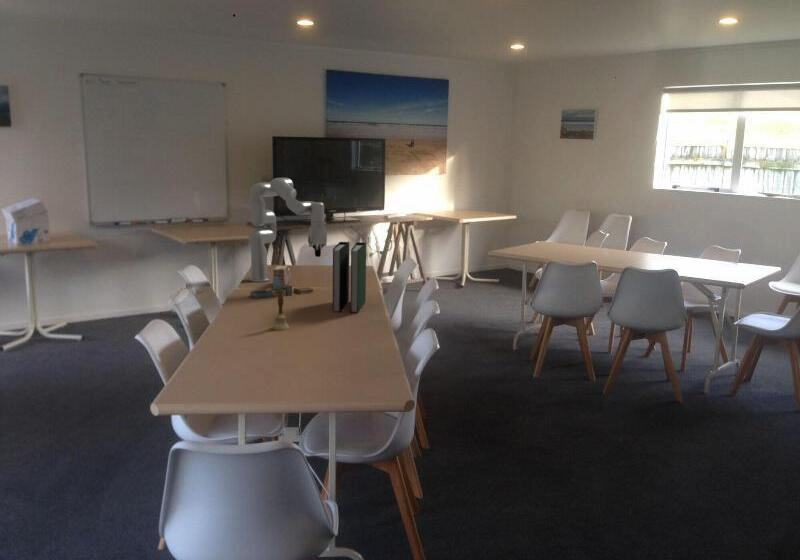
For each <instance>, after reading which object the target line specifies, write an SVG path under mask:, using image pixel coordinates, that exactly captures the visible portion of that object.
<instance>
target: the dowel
mask: <svg viewBox="0 0 800 560" xmlns="http://www.w3.org/2000/svg"><path fill="white" fill-rule="evenodd" d="M272 288H273V290H274V291H277V290H279V277H274V276H273V278H272Z"/></svg>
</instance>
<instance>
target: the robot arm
mask: <svg viewBox="0 0 800 560" xmlns="http://www.w3.org/2000/svg"><path fill="white" fill-rule="evenodd" d="M278 196H279V197H280V198H282V199H283V200H284V201H285V205H286V206H287V208H288V209H289V211H291V212H293V213H294V214H296V215H298V216H307V215H309V216H310V226H309V228H308V234H307V243H308V247H310V248H313V250H314V257H316V258H319V257H321V255H322V252H321V251H322V249H323V247H326V246H327V243H328V237H327V230H326V226H325V225H327V221H325V204H324V202H320V201H318V202H317V201H312V200H311V201H310V200H309V201H308V200H307V201H300V200H298V199H296V197H297V189H295V188H294V182H293V180H292V179H291V178H289V177H276V178H273V179H271V181H269V182H264V181H263V182H257V183H254V184H253V185H252V186H251V187H250V190H249V198H250V220H251V224H252V226H255V227H260V228H255V229H252V230H251V231H250V232H249V233H248V239H249V240H248V241H249V245H250V263H251V264H250V265H251V266H250V267H251V269H250V270H251V274H250V275H251V276H250V277H249V278H248V281H250V282H253V283H254V282H255V283H261V282H262V283H263V282H264V283H265V282H269V281H270V280H271V277H268V250H267V248H266V246H265V244H272V243H274V242H275V241H276V239H277V238H276V237H277V217H276V214H275V212H274V211H273V210H271V209H266V201H265V200H264V198H266V197H267V198H268V197H271V198H272V197H278Z"/></svg>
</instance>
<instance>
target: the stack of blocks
mask: <svg viewBox="0 0 800 560" xmlns="http://www.w3.org/2000/svg"><path fill="white" fill-rule="evenodd" d="M273 277H279V288H281V284H288V285H290V284H291V268H289V267H288V265H276V266H275V268H273Z"/></svg>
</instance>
